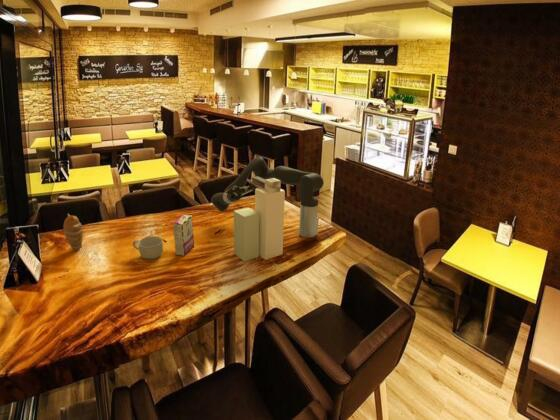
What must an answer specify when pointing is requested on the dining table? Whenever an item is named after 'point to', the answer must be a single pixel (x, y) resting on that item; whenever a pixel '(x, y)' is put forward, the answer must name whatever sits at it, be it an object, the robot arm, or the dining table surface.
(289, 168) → the robot arm
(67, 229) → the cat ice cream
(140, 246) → the teacup
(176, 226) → the candy bar box
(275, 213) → the tall stand
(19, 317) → the dining table surface
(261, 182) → the handle
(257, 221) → the grey green tall block
